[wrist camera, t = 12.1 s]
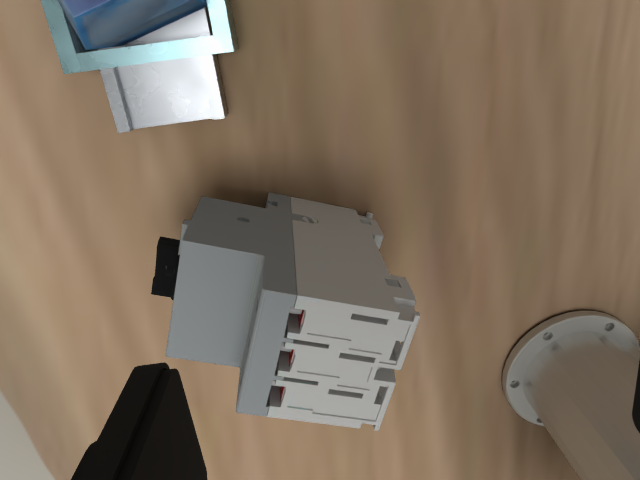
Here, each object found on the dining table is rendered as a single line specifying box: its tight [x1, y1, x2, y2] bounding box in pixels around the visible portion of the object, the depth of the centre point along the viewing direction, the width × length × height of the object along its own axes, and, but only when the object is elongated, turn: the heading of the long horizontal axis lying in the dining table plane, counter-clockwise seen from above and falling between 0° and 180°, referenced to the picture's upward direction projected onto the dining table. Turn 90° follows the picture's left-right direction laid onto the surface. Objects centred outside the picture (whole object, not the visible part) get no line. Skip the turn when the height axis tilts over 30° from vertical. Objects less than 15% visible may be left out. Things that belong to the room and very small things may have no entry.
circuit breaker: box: [151, 192, 420, 431], centre depth 31 cm, size 8×14×15 cm, turn 76°
